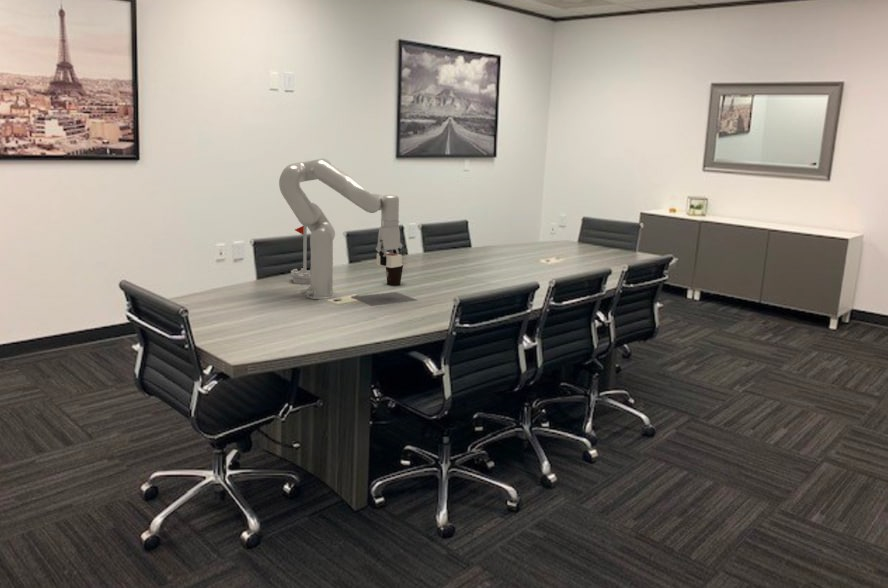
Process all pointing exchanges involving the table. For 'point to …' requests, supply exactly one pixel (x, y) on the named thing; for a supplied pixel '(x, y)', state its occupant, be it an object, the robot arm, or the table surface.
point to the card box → (391, 260)
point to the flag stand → (303, 275)
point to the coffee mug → (394, 275)
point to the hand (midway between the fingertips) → (389, 264)
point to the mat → (383, 298)
